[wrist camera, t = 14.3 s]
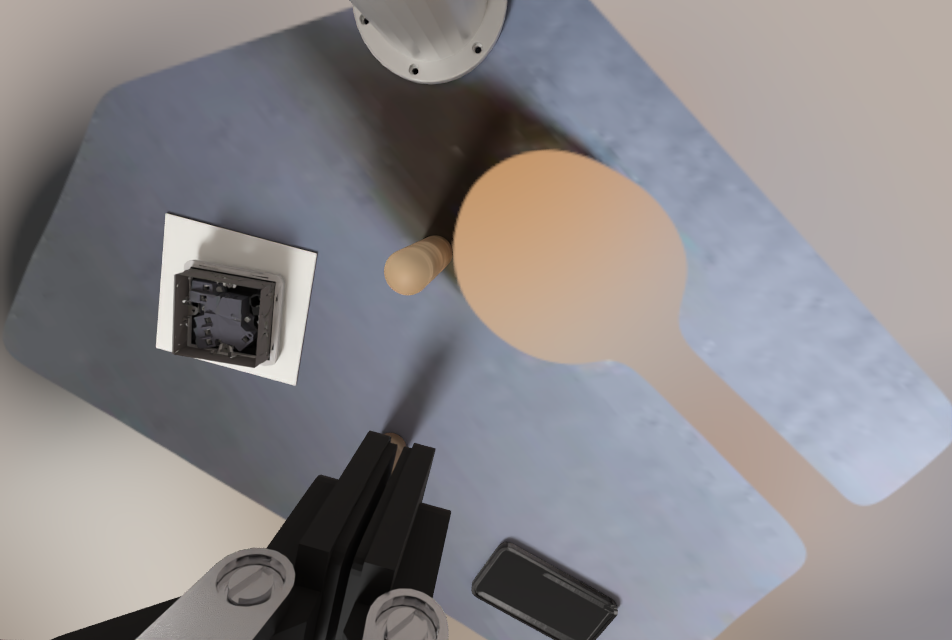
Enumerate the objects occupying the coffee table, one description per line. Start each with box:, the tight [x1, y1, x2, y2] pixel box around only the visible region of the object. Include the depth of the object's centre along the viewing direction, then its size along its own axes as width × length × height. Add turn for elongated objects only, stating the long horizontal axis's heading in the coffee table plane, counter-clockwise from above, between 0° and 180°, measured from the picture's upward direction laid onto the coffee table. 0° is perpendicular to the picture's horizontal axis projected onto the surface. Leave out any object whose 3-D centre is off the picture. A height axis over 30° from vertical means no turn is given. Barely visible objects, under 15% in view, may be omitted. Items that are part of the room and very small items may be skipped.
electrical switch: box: [172, 260, 285, 368], centre depth 47 cm, size 9×5×9 cm
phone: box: [472, 542, 618, 640], centre depth 55 cm, size 8×1×15 cm
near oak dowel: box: [384, 235, 453, 295], centre depth 40 cm, size 3×3×12 cm
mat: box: [156, 213, 317, 385], centre depth 49 cm, size 14×15×1 cm
